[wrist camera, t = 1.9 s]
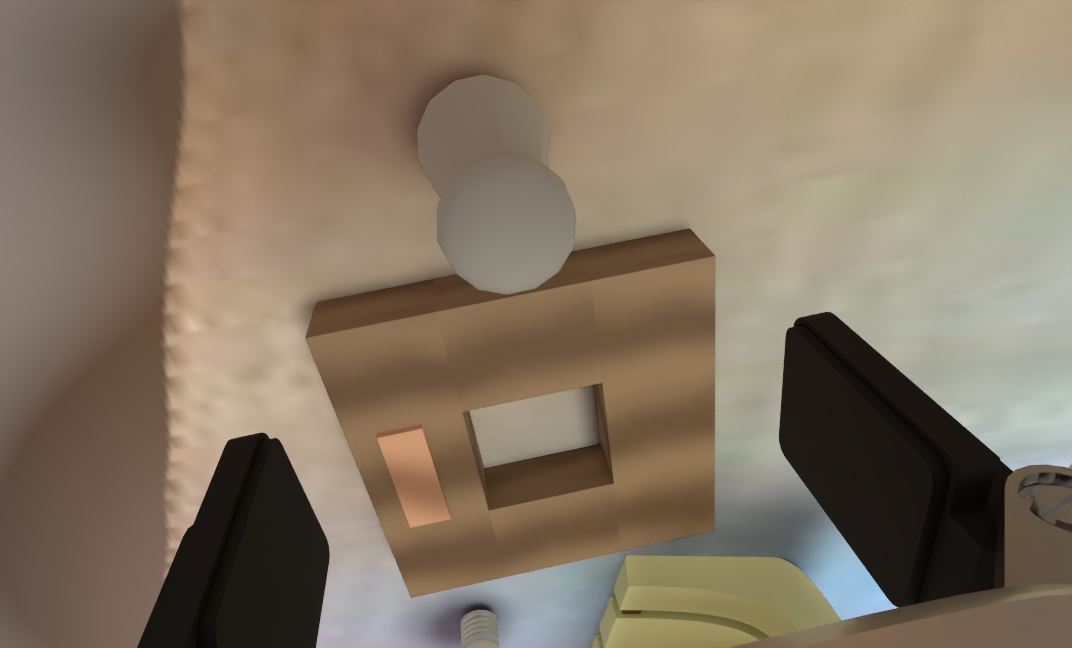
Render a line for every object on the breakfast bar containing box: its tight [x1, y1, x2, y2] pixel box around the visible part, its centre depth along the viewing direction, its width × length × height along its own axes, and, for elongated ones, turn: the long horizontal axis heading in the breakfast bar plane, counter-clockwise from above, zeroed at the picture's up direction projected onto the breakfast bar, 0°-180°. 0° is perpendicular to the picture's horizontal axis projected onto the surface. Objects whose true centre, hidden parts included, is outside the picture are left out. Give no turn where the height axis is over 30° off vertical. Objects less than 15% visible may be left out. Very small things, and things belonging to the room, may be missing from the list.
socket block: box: [305, 229, 715, 598], centre depth 37 cm, size 20×20×4 cm
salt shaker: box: [417, 74, 576, 295], centre depth 24 cm, size 6×6×13 cm
